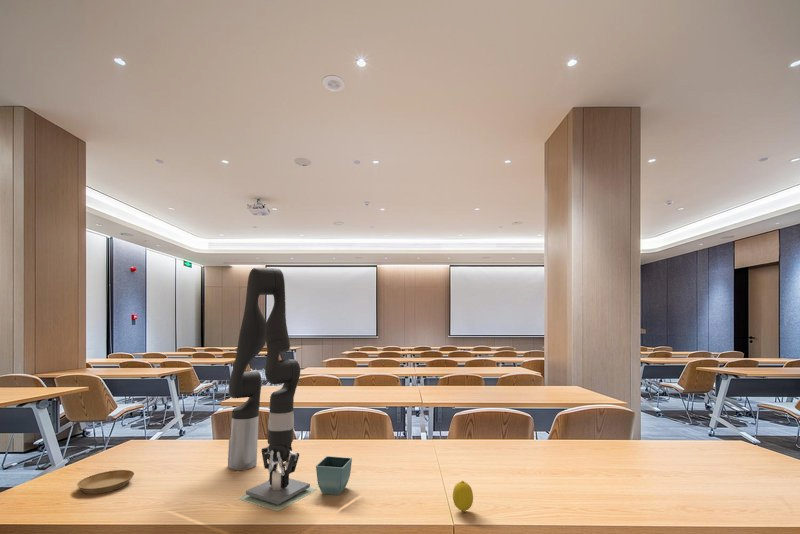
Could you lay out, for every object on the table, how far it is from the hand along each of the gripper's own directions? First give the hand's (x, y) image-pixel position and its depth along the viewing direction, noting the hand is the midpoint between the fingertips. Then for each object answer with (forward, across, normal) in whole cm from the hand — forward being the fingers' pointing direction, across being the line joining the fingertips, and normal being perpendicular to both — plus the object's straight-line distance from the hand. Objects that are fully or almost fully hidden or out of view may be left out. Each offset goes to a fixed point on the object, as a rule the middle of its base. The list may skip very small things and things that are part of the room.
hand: (278, 485), depth 119 cm
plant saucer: (+4, -54, -21) cm, 58 cm away
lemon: (+3, +52, +17) cm, 55 cm away
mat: (+3, 0, 0) cm, 3 cm away
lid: (+1, 0, 0) cm, 1 cm away
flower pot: (+3, +13, +10) cm, 17 cm away
